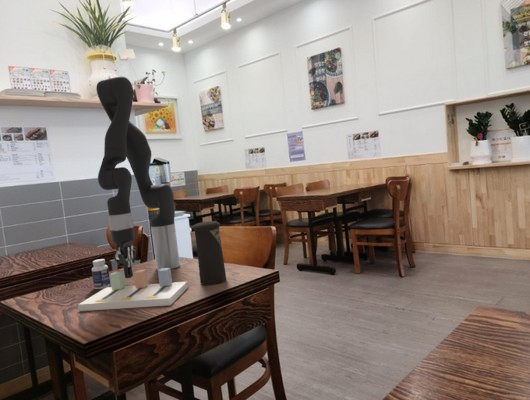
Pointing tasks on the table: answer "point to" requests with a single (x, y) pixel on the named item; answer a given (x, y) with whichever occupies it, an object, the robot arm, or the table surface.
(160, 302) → the panel
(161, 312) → the table surface
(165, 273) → the slate lever
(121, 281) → the sage lever
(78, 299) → the table surface
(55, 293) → the table surface
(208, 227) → the container
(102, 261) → the pill bottle
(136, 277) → the terracotta lever
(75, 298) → the table surface
